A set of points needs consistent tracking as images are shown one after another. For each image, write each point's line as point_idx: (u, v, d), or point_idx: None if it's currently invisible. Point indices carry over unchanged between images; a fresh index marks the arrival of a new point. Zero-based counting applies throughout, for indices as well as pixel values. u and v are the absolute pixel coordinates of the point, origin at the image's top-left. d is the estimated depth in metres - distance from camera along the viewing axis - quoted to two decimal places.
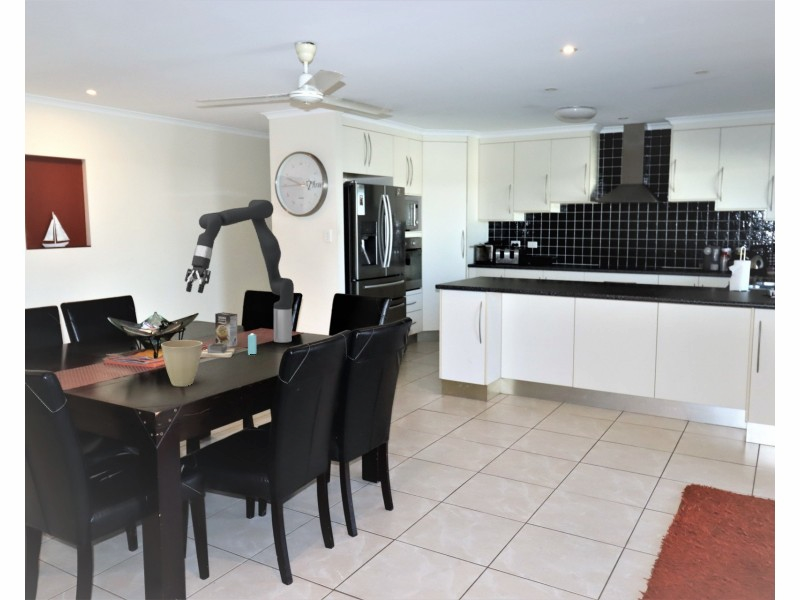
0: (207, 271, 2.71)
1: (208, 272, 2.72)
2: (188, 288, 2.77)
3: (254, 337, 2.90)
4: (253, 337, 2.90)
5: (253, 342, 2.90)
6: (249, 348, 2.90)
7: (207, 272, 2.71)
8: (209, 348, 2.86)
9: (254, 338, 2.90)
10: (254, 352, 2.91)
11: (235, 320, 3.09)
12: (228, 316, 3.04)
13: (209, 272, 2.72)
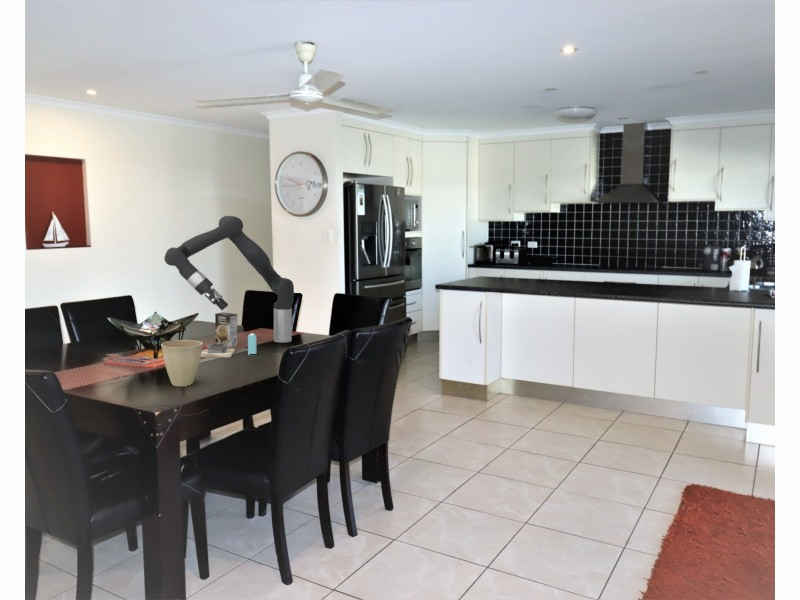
0: (206, 295, 2.80)
1: (208, 294, 2.80)
2: (223, 305, 2.92)
3: (254, 337, 2.90)
4: (253, 337, 2.90)
5: (253, 342, 2.90)
6: (249, 348, 2.90)
7: (207, 295, 2.80)
8: (209, 348, 2.86)
9: (254, 338, 2.90)
10: (254, 352, 2.91)
11: (235, 320, 3.09)
12: (228, 316, 3.04)
13: (208, 293, 2.80)
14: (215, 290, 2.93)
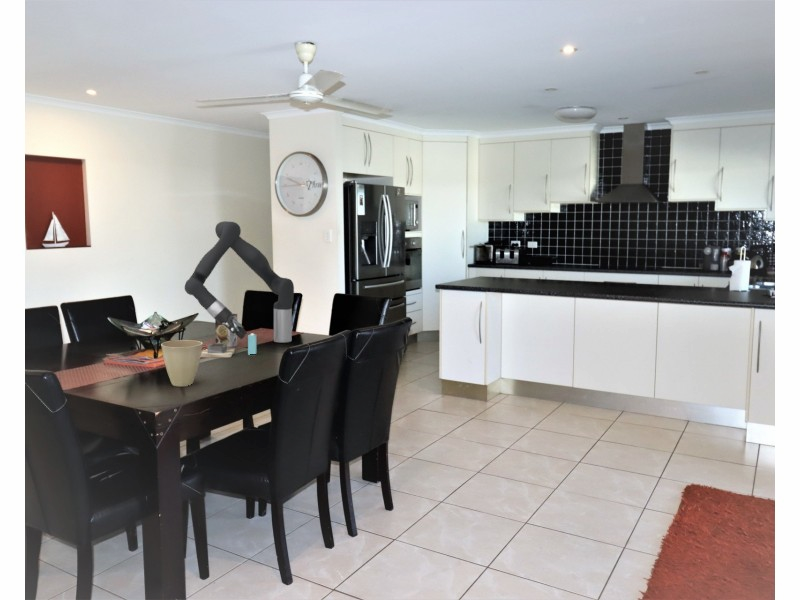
0: (226, 324, 2.83)
1: (227, 324, 2.83)
2: (242, 333, 2.95)
3: (254, 337, 2.90)
4: (253, 337, 2.90)
5: (253, 342, 2.90)
6: (249, 348, 2.90)
7: (227, 325, 2.83)
8: (209, 348, 2.86)
9: (254, 338, 2.90)
10: (254, 352, 2.91)
11: None
12: None
13: (228, 323, 2.83)
14: None
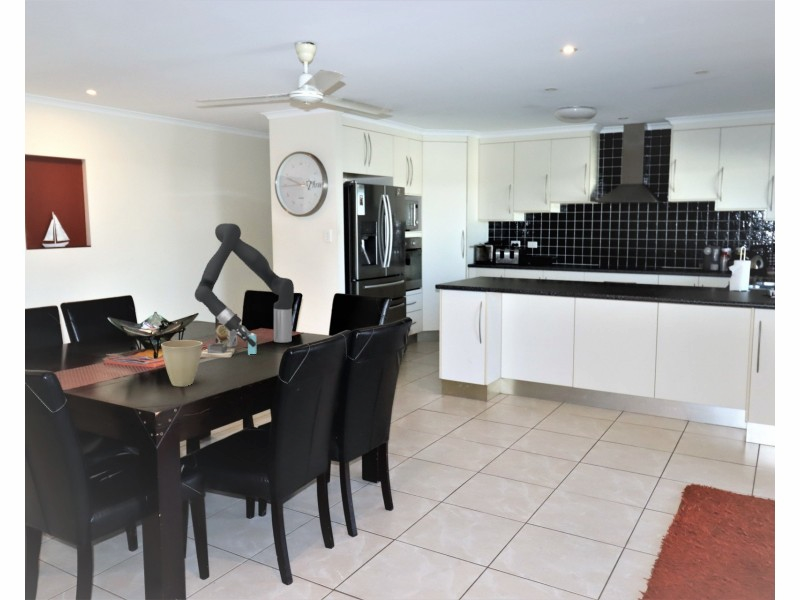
0: (238, 334, 2.84)
1: (239, 333, 2.84)
2: None
3: (254, 337, 2.90)
4: (253, 337, 2.90)
5: None
6: (249, 348, 2.90)
7: (239, 334, 2.84)
8: (209, 348, 2.86)
9: (254, 338, 2.90)
10: (254, 352, 2.91)
11: None
12: None
13: (240, 332, 2.84)
14: (245, 327, 2.96)
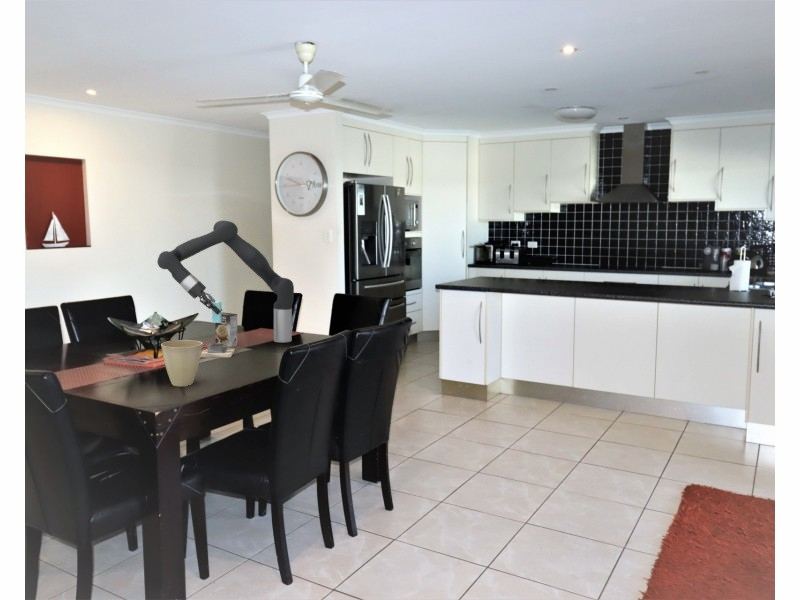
0: (202, 301, 2.80)
1: (203, 300, 2.80)
2: None
3: (218, 304, 2.86)
4: (218, 305, 2.86)
5: None
6: (213, 316, 2.86)
7: (202, 301, 2.81)
8: (209, 348, 2.86)
9: (218, 306, 2.86)
10: (218, 320, 2.87)
11: (235, 320, 3.09)
12: (228, 316, 3.04)
13: (204, 299, 2.80)
14: (210, 295, 2.92)
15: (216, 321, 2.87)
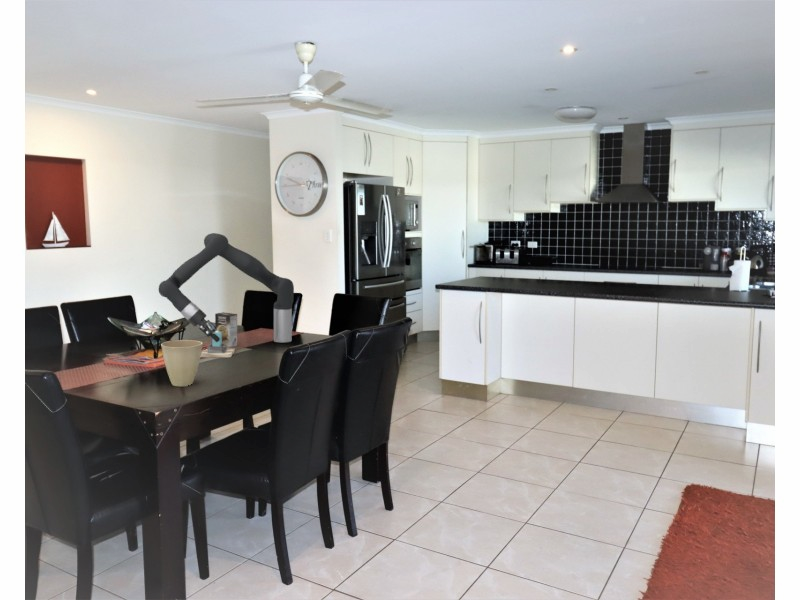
0: (201, 328, 2.82)
1: (202, 327, 2.82)
2: None
3: (218, 334, 2.88)
4: (218, 334, 2.88)
5: None
6: (214, 345, 2.88)
7: (202, 328, 2.82)
8: (209, 348, 2.86)
9: (219, 335, 2.88)
10: None
11: (235, 320, 3.09)
12: (228, 316, 3.04)
13: (203, 326, 2.82)
14: (209, 321, 2.94)
15: None
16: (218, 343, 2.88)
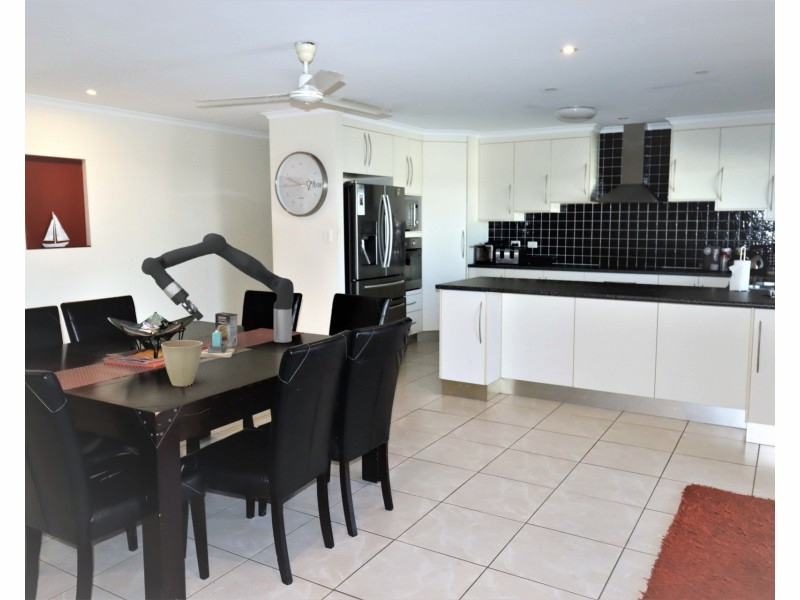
0: (183, 305, 2.80)
1: (184, 304, 2.80)
2: None
3: (218, 334, 2.88)
4: (218, 334, 2.88)
5: (218, 339, 2.88)
6: (214, 345, 2.88)
7: (184, 305, 2.80)
8: (209, 348, 2.86)
9: (219, 335, 2.88)
10: None
11: (235, 320, 3.09)
12: (228, 316, 3.04)
13: (185, 303, 2.80)
14: (190, 301, 2.93)
15: None
16: (218, 343, 2.88)
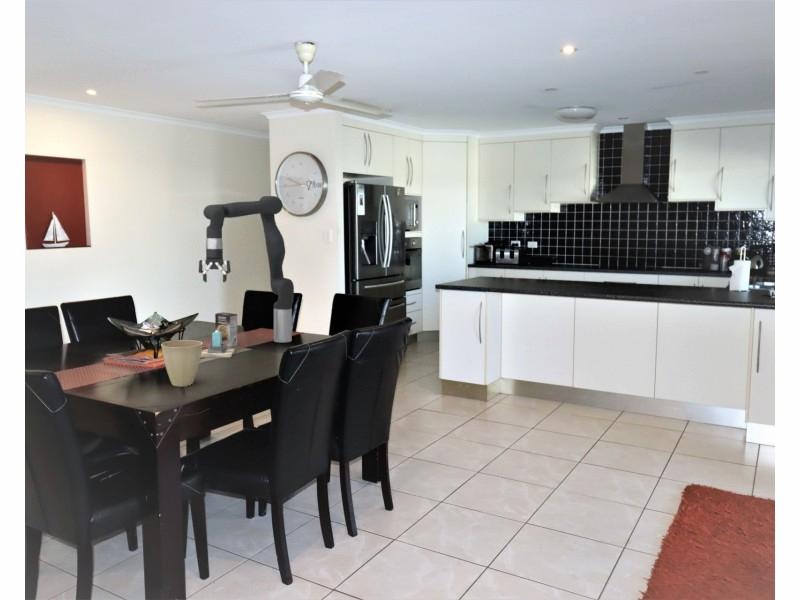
0: (229, 262, 2.92)
1: (229, 262, 2.93)
2: (206, 279, 2.92)
3: (218, 334, 2.88)
4: (218, 334, 2.88)
5: (218, 339, 2.88)
6: (214, 345, 2.88)
7: (229, 263, 2.92)
8: (209, 348, 2.86)
9: (219, 335, 2.88)
10: None
11: (235, 320, 3.09)
12: (228, 316, 3.04)
13: (229, 262, 2.93)
14: None
15: None
16: (218, 343, 2.88)
